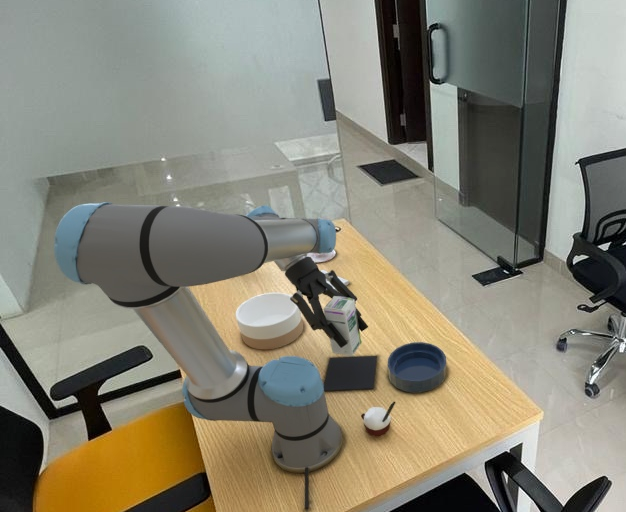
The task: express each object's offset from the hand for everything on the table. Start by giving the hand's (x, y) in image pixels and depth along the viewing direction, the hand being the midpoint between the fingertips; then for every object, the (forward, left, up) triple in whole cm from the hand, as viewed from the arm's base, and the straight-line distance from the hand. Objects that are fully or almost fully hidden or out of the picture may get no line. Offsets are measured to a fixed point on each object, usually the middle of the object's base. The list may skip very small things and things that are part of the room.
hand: (354, 337), depth 125 cm
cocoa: (-19, -6, -14) cm, 25 cm away
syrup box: (+2, +3, -5) cm, 6 cm away
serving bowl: (+1, -15, -14) cm, 21 cm away
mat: (+2, +3, -14) cm, 14 cm away
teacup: (+68, +22, -14) cm, 73 cm away
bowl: (+22, +28, -14) cm, 38 cm away
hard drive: (+48, +16, -14) cm, 53 cm away
